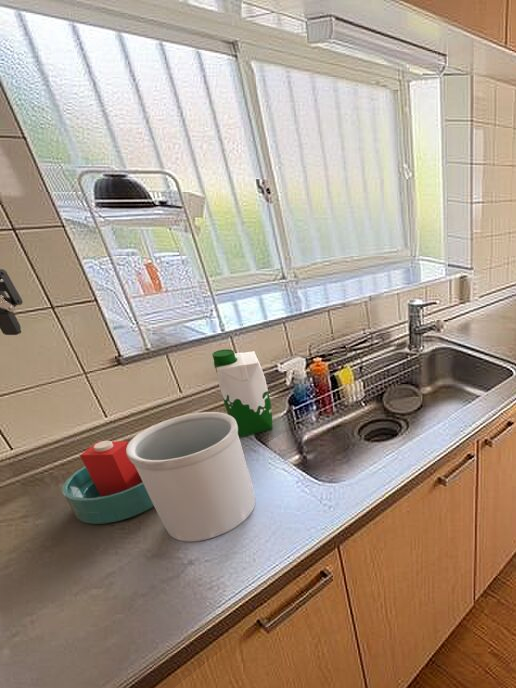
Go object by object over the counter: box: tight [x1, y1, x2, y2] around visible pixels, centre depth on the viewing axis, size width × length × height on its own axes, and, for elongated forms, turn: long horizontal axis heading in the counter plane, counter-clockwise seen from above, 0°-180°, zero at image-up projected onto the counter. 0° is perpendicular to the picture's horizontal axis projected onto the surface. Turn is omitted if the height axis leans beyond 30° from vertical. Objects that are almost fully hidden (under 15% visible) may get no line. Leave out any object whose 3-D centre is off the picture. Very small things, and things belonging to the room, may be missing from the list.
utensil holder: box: [126, 411, 256, 542], centre depth 73 cm, size 15×15×18 cm
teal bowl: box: [61, 465, 154, 525], centre depth 78 cm, size 14×14×6 cm
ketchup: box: [79, 440, 142, 497], centre depth 76 cm, size 5×4×12 cm
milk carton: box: [212, 348, 273, 438], centre depth 98 cm, size 9×9×20 cm
